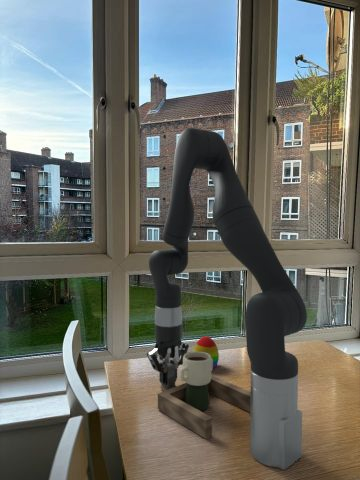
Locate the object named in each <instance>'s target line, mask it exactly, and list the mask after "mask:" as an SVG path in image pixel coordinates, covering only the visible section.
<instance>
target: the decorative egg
mask: <svg viewBox="0 0 360 480" xmlns="http://www.w3.org/2000/svg"><path fill="white" fill-rule="evenodd" d="M192 352H204V353H208V354H209V355H210V356H211V358H212V360H213V369H212V370H211V371H213V370H214V369H215V368H216V367H217V365H218V363H219V359H220V356H219V355H220V354H219V353H220V352H219V349H218V346H217V344H216V342H215V340H214V339H212V338H211V337H210V336H205V335H204V336H203V337H201V338H200V339H198V341H197V342H196V344H195V346H194V348H193V351H192Z"/></svg>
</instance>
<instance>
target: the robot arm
mask: <svg viewBox="0 0 360 480" xmlns="http://www.w3.org/2000/svg"><path fill="white" fill-rule="evenodd" d="M175 145H176V146H175V150H174V159H173V167H172V177H171V178H172V180H171V188H170V189H171V191H170V192H171V193H170V200H169V205H168V210H167V216H166V219H165V222H164V225H163V230H162V235H161V238H162V240H163V242H164V243H165V244H167V245H169V246H171V247H172V248H168V249H156V250H153V251H152V253H151V254H150V256H149V260H148V269H149V272H150V276H151V278H152V284H153V287H154V291H155V309H154V339H155V345H154V349H153V350H152V351H147V352H146V356H147V358H148V361H149V362H150V365H151V367H152V369H153V370H154V371H156V372H158V375H159V383H160V384H161V385H162V384H163V385H167V367H168V364H169V362H170V363H172V364H174V365H175V383H176V382H177V379H178V369H179V366H183V356H184V354H186V353H188V350H189V348H190V347H189V345H190V344H188V343H186V342H184V341H182V339H183V311H182V289H181V286H180V285H179V284H178V283H174V282H169V279H168V276H172V275H179V274H182V273H183V272H184V271H185V270H186V269H187V266H188V263H189V237H190V235H191V232H192V229H193V224H194V220H195V207H194V203H193V199H192V194H191V180H192V176H193V173H194V170H195V169H196V170H205V171H206V172H207V173H208V175H209V177H210V179H211V182H212V184H213V187H214V199H213V205H212V220H213V223H214V226H215V227H216V230H217V232H218V235H219V237H220V239H221V242H222V243H223V246H224V247H225V248H226V249H227V251H228V252H229V253H230V254H231V255H232V256H233V257H234V258H236V260H237V261H238V262H240V263H241V264H242V266H244V267H245V268H246V269H247V270H248V271H249V272H250V274H251V275H252V276H253V277H254V279H255V280H256V282H257V284H258V286H259V288H260V290H261V292H258V293H255V294H254V295H252V296H251V297H250V299H249V300H248V302H247V304H246V309H245V321H244V322H245V336H246V337H245V338H246V339H245V340H246V341H245V342H246V352H247V355H248V358H249V362H250V392H251V413H250V424H249V425H250V428H249V429H250V440H249V441H250V446H249V448H250V454H251V456H252V457H253V459H254V460H256V461H257V462H259V463H261V464H263V465H266V466H268V467H272V466H273V467H274V468H279V469H281V470H283V471H285V470H286V469H288V468H289V467H291V466H292V465H293V464H295V463H296V462H297V461H299V460H298V459H299V458H300V459H301V458H302V455H303V453H302V449H303V448H302V446H303V443H302V442H303V439H302V438H303V437H302V436H303V412H302V410H300V409H299V407H298V406H299V403H298V402H299V401H298V400H299V399H298V398H299V360H298V358H297V356H295V355H294V354H293V353H291V352H288V351H286V343H285V341H286V340H285V337H287V336H291V335H293V334H297V333H298V332H300V331H301V330H303V329H304V328H305V325H306V324H307V319H308V313H307V307H306V304H305V301H304V300H303V298H302V296H301V294H300V292H299V291H298V290H297V288H296V286H295V284H294V283H293V281H292V280H291V278H290V277H289V275H288V274H287V272H286V270H285V268H284V267H283V265H282V263H281V262H280V260H279V258H278V256H277V254H276V252H275V249H274V248H273V246H272V244H271V242H270V240H269V239H268V237H267V234H266V232H265V230H264V228H263V226H262V223H261V221H260V219H259V217H258V215H257V213H256V211H255V208H254V207H253V205H252V202H251V201H250V200H249V197H248V195H247V193H246V191H245V189H244V187H243V185H242V181H241V180H240V178H239V175H238V173H237V170H236V168H235V165H234V162H233V159H232V157H231V153H230V150H229V148H228V145H227V143H226V141H225V139H224V138H223V136H222V135H221V134H220V133H218V132H216V131H213V130H207V129H200V128H195V127H188V128H185V129H184V130H183V131H182V132H181V133H180V135H179V136H178V139H177V142H176V144H175ZM295 461H296V462H295ZM273 467H272V468H273Z"/></svg>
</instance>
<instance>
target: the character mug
mask: <svg viewBox="0 0 360 480" xmlns="http://www.w3.org/2000/svg"><path fill="white" fill-rule="evenodd" d="M212 369H213V360H212V358H211V356H210V355H209V354H208V353H204V352H193V351H190V352H188V351H187V353H186V354H184V356H183V364H182V367H181V368H180V370H179V371H180V372H179V379H180V381H181V382H185V383H187V388H186V396H185V403H186V404H188V405H190V406H192V407H194V408H195V409H197V410H199V411H201V410H205V409H208V408H209V406H210V404H211V403H210V396H209V393H208V388H207V384H208V383H210V380H211V375H212V371H213V370H214V369H213V370H212Z"/></svg>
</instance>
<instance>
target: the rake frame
mask: <svg viewBox="0 0 360 480" xmlns="http://www.w3.org/2000/svg"><path fill="white" fill-rule="evenodd" d="M186 388H187V383H186V382H185V383H182V384H180V385H176V382H175V365H174V364H172V363H170V362H169V364H168V367H167V385H163V384H161V385H160V389H161V390H162V392H159V393H157V410H158V409H159V411H160V412H162V413H163V414H165V415H167V416H168V417H169V418H171V419H173V420H175V421H176V422H177V423H179V424H181V425H182V426H184V427H186V428H187V429H189V430H190V431H192V432H194V433H195V434H197V435H198V436H200V437H202V438H204V439H208V438H210V437H212V436H213V417H211V416H210V415H208V414H207V413H204V412H202V411H201V410H197V409H195V408H194V407H192V406H190V405H188V404H186V403H185V396H186ZM207 388H208V394H209V393H210V394H212V395H213V396H215V397H217V398H219V399H221V400H224V401H225V402H228V403H229V404H232V405H234V406H236V407H238V408H240V409H241V410H244V411H246V412H248V413H250V414H251V390H247V389H245V388H244V387H243V388H242V387H241V386H238V385H237V384H233V383H231V382H228V381H227V380H224V379H222V378H219V377H217V376H214V374H213V375H212V374H211V380H210V383H208V384H207Z"/></svg>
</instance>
